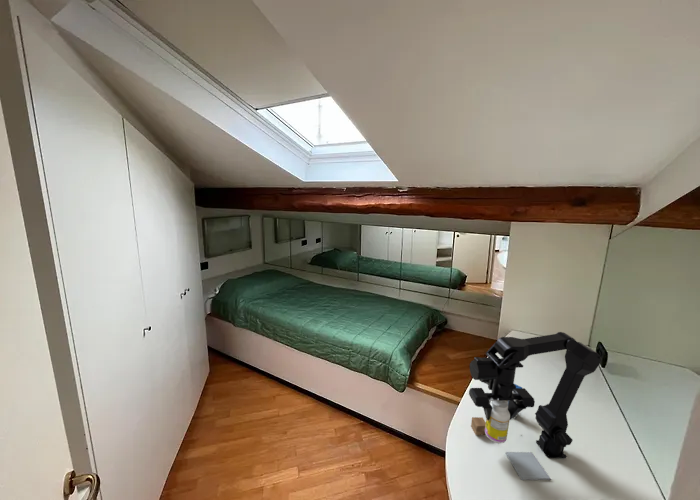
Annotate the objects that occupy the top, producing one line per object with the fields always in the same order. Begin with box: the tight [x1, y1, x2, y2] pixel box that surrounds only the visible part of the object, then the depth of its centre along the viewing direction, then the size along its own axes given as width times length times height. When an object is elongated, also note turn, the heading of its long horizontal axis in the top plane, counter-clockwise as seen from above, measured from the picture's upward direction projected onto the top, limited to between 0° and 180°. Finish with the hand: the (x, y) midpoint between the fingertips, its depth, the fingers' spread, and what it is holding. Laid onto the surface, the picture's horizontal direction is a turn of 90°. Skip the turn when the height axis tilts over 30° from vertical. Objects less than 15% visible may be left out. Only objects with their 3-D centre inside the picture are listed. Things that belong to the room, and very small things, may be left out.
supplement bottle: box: [485, 401, 511, 444], centre depth 95 cm, size 7×7×13 cm
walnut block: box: [470, 416, 486, 436], centre depth 106 cm, size 4×4×4 cm
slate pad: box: [505, 451, 551, 481], centre depth 93 cm, size 9×9×1 cm
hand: (497, 419), depth 95 cm, fingers closed on supplement bottle, 7 cm apart
